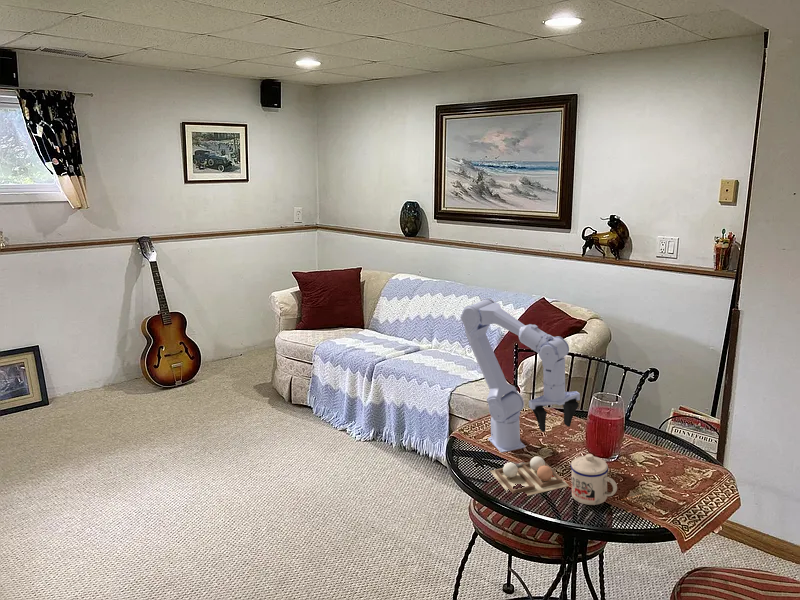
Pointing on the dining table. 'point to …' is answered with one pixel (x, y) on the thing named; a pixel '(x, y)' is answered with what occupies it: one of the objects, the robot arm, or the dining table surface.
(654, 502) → the dining table surface
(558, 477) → the trough board
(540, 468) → the ball terracotta
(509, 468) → the cream ball
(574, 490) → the teacup with lid
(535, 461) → the cream ball
